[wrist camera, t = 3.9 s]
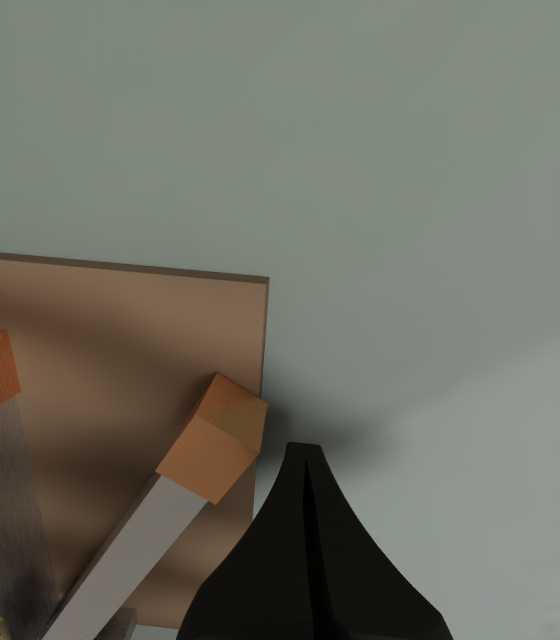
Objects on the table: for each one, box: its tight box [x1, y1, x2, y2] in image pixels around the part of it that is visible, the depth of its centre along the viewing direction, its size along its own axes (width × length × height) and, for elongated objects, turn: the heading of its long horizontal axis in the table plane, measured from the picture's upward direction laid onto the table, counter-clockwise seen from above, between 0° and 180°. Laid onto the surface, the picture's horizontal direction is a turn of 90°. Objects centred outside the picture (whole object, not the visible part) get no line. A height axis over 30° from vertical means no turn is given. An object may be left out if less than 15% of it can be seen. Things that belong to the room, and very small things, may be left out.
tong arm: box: [36, 372, 268, 640], centre depth 14 cm, size 18×3×3 cm, turn 145°
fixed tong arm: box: [0, 329, 137, 640], centre depth 15 cm, size 19×7×3 cm, turn 175°
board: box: [0, 253, 270, 629], centre depth 16 cm, size 22×16×2 cm
